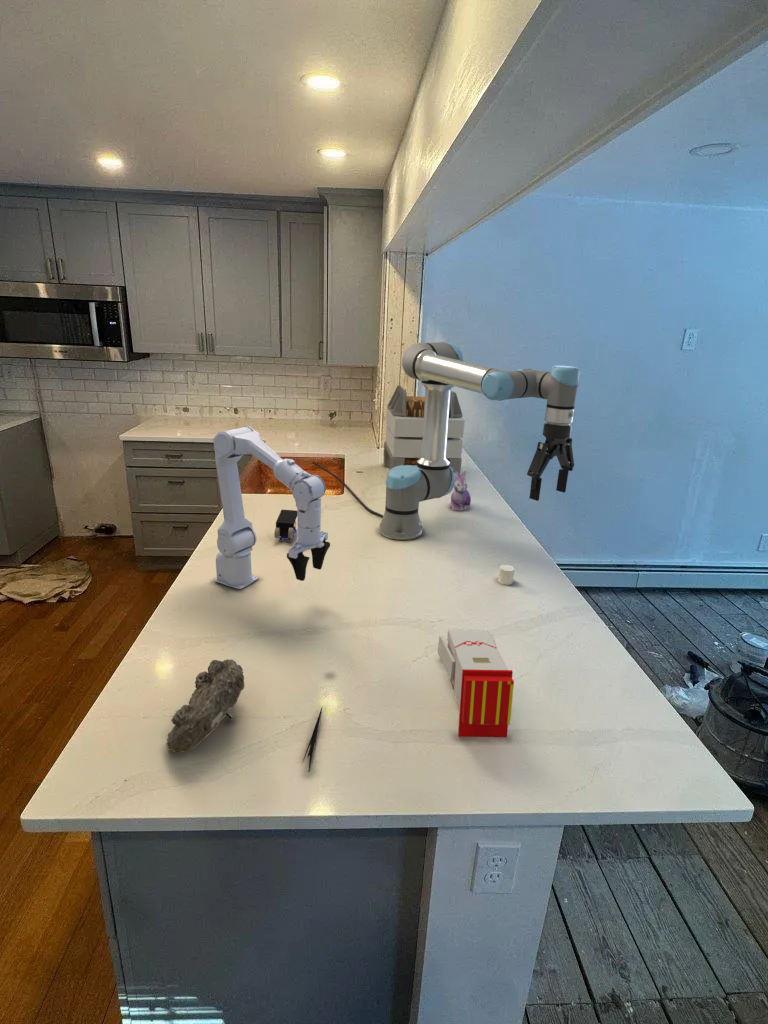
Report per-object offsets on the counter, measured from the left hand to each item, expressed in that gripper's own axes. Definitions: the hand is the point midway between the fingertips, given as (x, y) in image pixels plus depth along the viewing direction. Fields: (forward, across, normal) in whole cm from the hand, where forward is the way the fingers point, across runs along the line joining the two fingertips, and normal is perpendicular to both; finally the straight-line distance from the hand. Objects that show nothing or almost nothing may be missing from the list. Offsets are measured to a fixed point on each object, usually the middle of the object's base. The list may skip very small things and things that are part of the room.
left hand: (309, 573), depth 145 cm
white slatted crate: (+10, +136, +29) cm, 139 cm away
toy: (+10, -12, -48) cm, 51 cm away
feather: (+10, -34, -26) cm, 44 cm away
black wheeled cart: (+10, +36, +34) cm, 50 cm away
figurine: (+10, +99, -6) cm, 99 cm away
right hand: (-16, +54, -47) cm, 73 cm away
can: (+10, +43, -40) cm, 60 cm away
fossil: (+10, -44, -8) cm, 46 cm away
